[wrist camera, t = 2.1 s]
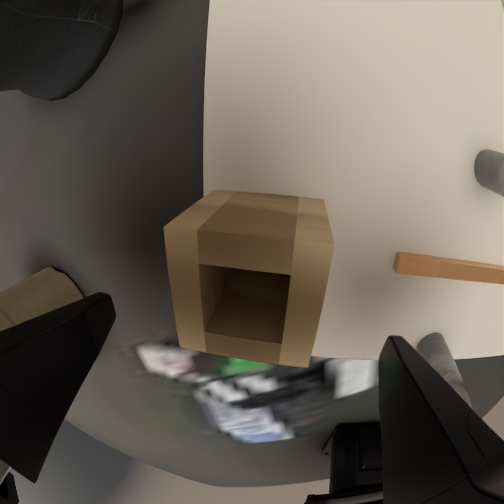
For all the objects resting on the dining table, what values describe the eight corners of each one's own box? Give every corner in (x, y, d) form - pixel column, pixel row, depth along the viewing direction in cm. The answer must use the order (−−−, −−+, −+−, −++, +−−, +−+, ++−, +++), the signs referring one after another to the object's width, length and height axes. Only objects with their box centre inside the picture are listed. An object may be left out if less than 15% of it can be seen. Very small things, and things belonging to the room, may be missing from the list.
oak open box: (310, 294, 14) (307, 367, 10) (215, 282, 15) (180, 346, 10) (323, 199, 12) (334, 244, 7) (213, 189, 13) (163, 226, 8)
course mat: (524, 348, 13) (527, 353, 13) (212, 337, 17) (209, 343, 17) (579, 61, 2) (584, 61, 2) (220, -68, 6) (217, -72, 6)
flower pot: (98, 357, 22) (51, 422, 14) (31, 298, 21) (-22, 347, 13) (117, 299, 18) (42, 384, 10) (34, 226, 17) (-46, 277, 9)
